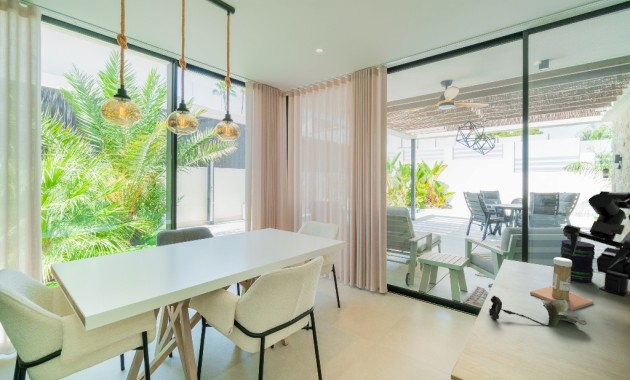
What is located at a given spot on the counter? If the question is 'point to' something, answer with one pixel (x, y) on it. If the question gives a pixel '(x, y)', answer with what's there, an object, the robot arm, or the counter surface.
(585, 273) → the storage jar
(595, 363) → the counter surface
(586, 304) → the terracotta tile
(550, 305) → the artificial flower
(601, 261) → the robot arm
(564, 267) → the sprinkles bottle
